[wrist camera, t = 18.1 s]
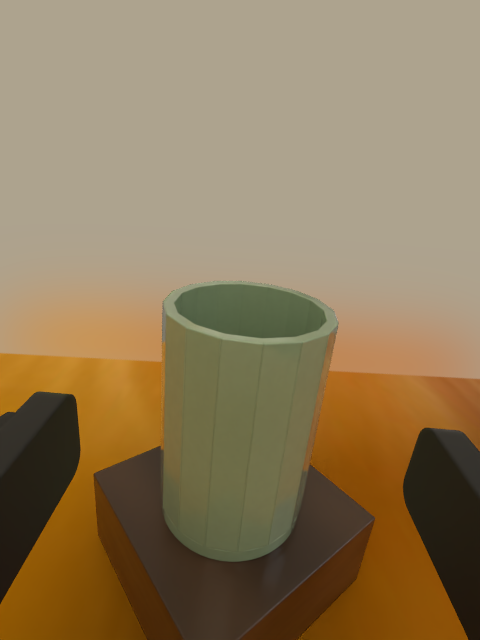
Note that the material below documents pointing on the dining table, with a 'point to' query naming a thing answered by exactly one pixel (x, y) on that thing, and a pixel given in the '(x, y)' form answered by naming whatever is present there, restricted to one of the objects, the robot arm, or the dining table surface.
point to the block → (221, 576)
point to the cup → (239, 412)
